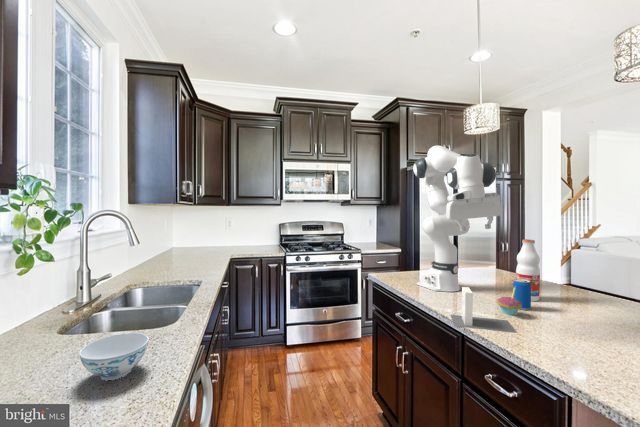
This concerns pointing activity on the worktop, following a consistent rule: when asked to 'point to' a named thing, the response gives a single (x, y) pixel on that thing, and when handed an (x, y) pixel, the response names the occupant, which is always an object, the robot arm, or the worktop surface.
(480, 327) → the mat
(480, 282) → the worktop surface
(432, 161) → the robot arm
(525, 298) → the beverage can
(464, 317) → the tile
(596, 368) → the worktop surface
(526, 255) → the fruit juice
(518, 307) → the cupcake
